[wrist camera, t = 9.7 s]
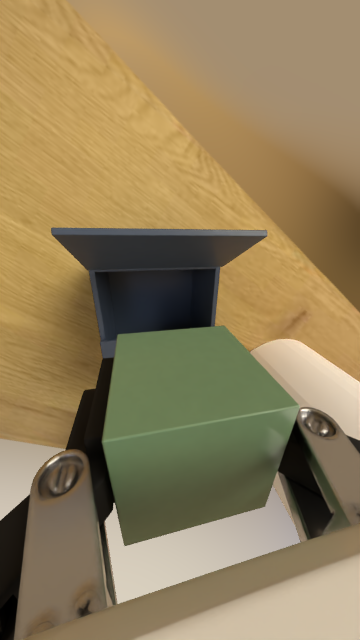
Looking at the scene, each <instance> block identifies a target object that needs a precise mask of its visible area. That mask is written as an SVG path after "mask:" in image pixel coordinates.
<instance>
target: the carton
mask: <svg viewBox="0 0 360 640" xmlns="http://www.w3.org/2000/svg"><path fill="white" fill-rule="evenodd" d="M219 273H220V267H185V268H146V269H106V270H89V275H90V281H91V286H92V292H93V298H94V303H95V309H96V315H97V321H98V326H99V332H100V338H101V341H100V345H101V351H102V356H103V358H112V357H114V355H115V348H116V342H117V335H118V334H129V333H141V332H153V331H165V330H177V329H190V328H202V327H214V326H215V316H216V305H217V294H218V284H219Z"/></svg>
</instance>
